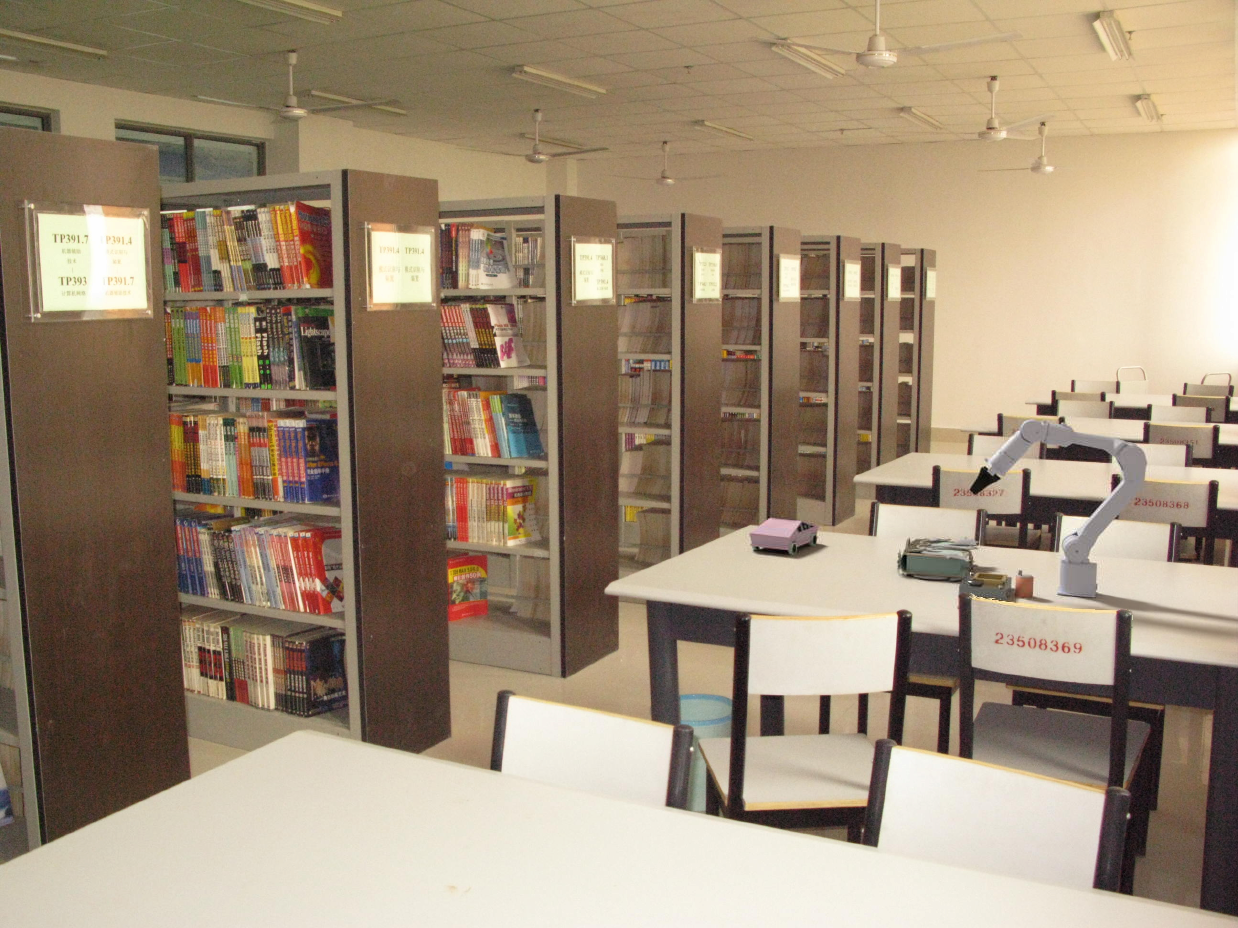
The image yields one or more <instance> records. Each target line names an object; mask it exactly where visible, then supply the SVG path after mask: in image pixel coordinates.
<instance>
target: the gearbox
mask: <svg viewBox="0 0 1238 928" xmlns="http://www.w3.org/2000/svg"><path fill="white" fill-rule="evenodd" d="M1012 581H1013V580H1012V576H1008V574H1001V573H989V572H988V573H987V572H978V571H976V572H975V573H974V572H973V571H972V572H969V573H967V574H966V576H965V577H964V579H962V580H961V582H960V583H959V585H958V595H959V594H961V593H965V592H966V593H972V594H974V595H975V596H977V597H983V598H995V599H1001V600H1006V601H1007V600H1008V596H1009V594H1010V591H1011V590H1010V589H1012ZM1001 600H1000V601H1001Z"/></svg>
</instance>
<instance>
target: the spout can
mask: <svg viewBox="0 0 1238 928" xmlns="http://www.w3.org/2000/svg"><path fill="white" fill-rule="evenodd" d="M1034 578H1035V577H1034V576H1033V575H1031V574H1026V573H1023V570H1021V569H1018V570H1017V575H1015V585H1014V586H1015V591H1014V592H1015V593H1014V597H1016V598H1019V599H1024V598H1030V599H1033V598H1034V580H1035V579H1034Z"/></svg>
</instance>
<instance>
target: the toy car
mask: <svg viewBox="0 0 1238 928" xmlns="http://www.w3.org/2000/svg"><path fill="white" fill-rule="evenodd" d="M818 530H819V526H818V525H815V524H812V523H810V522H808V521H807V522H806V521H804V520H801V519H792V518H785V517H784V518H782V517H770V518H768V519H767V520H765V521H763V522H762V523H761V524H760V525H759V526H757V527H756V528H754V529H753V530H752V531H750V532H749V533H748V534H749V538H750V542H751V543H750V545H749V546H751V550H753V551H758V550H760V549H761V548H767V549H773V550H774V549H775V550H783V551H785V550H786V551H788V554H789V555H790V556H791V555H792V556H793V555H796V553H797V551H798V550H797V549H798V548H799V547H801V546H803V545H806V544H808V545H809V546H810V547H815V546H816V545H817V541H818V539H819V537H818Z"/></svg>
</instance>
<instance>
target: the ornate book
mask: <svg viewBox="0 0 1238 928" xmlns="http://www.w3.org/2000/svg"><path fill="white" fill-rule="evenodd" d="M978 543H979V541H978V540H977V541H976V539H975V538H967V537H966V536H965V537H964V536H963V537H960V538H958V539H956V541H953V540H952V538H940V537H935V538H928V537H925V538H915V539H914V540H911V539H910V537H908V539H906V542H905V547H904V550H903V552H902V553H901V550H899V551H898V552H897V562H896V563H897V565H896V566H897V569H896V570H897V572H896V573H897V574H900V571H901V572H902V573H904V574H907V575H911V576H913V575H914V576H913V577H915V578H919V579H920V578H921V579H926V580H927V579H928V580H949V582H953V581H962V580H963V579H964V577H965V576H966V574H967V573H968V574H970V571H969V570H971V569H975V565H973V564H974V563H975V559H974V555H973V551H971V550H979V548H978V545H977V544H978Z"/></svg>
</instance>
